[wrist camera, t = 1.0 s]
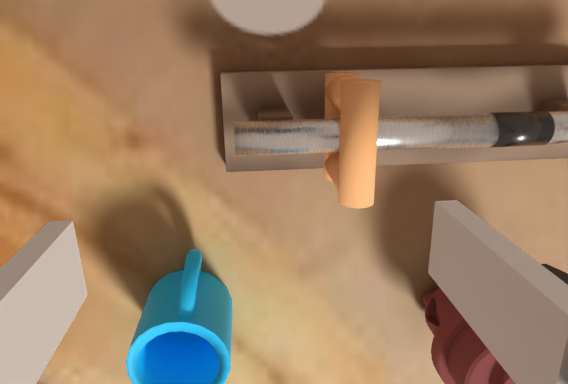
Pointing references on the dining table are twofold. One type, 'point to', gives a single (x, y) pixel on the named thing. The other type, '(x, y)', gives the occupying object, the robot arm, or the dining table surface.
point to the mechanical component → (459, 346)
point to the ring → (353, 137)
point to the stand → (396, 107)
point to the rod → (405, 133)
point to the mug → (183, 330)
